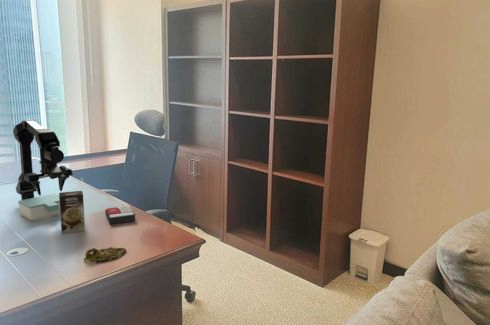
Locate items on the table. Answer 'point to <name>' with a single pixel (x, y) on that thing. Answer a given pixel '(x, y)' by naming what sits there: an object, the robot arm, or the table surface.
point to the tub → (37, 212)
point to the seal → (103, 255)
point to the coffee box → (72, 211)
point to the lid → (42, 202)
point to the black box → (120, 215)
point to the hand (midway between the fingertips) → (50, 193)
